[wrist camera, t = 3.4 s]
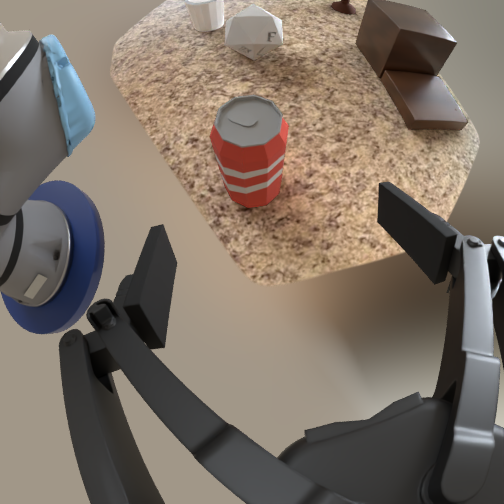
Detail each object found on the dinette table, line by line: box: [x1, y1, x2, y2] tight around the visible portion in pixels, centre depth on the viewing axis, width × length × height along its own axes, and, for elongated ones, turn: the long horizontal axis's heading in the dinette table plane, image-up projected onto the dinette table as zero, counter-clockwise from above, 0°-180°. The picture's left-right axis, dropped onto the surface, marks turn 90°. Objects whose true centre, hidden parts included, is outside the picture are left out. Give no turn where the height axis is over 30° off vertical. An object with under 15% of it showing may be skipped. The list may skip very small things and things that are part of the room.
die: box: [225, 4, 283, 60], centre depth 32 cm, size 8×9×10 cm
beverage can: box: [210, 95, 289, 208], centre depth 25 cm, size 6×6×12 cm
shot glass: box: [184, 0, 224, 32], centre depth 35 cm, size 7×7×7 cm
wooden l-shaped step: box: [355, 0, 468, 130], centre depth 29 cm, size 20×12×11 cm, turn 12°
